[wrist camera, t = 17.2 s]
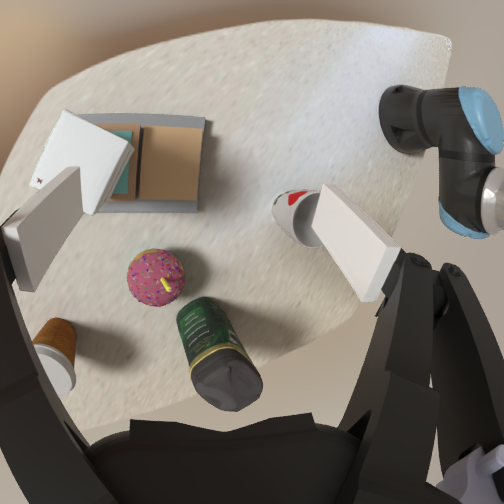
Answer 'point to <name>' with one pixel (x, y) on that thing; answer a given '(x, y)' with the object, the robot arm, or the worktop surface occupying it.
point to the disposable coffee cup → (57, 354)
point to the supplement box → (84, 158)
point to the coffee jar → (217, 357)
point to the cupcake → (156, 277)
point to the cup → (298, 216)
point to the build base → (150, 122)
